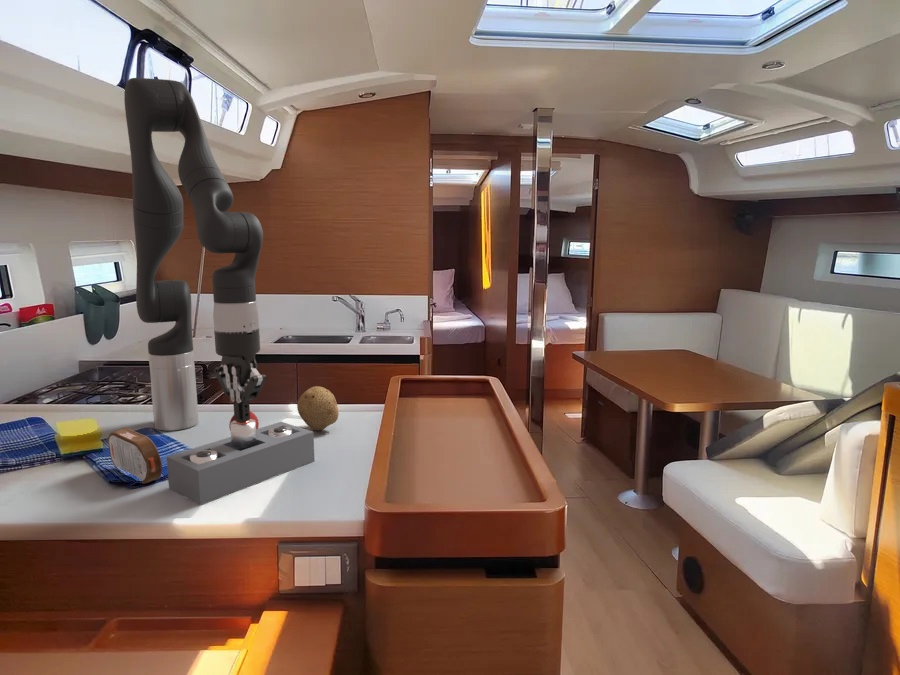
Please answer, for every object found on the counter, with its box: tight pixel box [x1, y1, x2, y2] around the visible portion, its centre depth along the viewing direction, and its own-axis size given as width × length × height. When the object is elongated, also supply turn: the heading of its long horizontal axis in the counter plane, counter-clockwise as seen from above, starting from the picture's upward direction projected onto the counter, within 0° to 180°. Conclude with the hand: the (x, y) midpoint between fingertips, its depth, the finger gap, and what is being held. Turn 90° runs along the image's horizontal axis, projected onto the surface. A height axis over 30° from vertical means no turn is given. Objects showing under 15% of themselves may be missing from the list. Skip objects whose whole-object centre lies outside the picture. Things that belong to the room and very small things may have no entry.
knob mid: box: [229, 419, 257, 448], centre depth 110 cm, size 4×4×4 cm
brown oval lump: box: [296, 385, 340, 431], centre depth 135 cm, size 9×9×10 cm
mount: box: [165, 421, 315, 506], centre depth 111 cm, size 10×24×6 cm, turn 143°
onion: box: [228, 410, 260, 432], centre depth 127 cm, size 6×6×8 cm
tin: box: [107, 427, 163, 485], centre depth 109 cm, size 15×3×8 cm, turn 53°
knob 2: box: [268, 427, 292, 439], centre depth 117 cm, size 4×4×4 cm
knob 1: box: [190, 450, 218, 465], centre depth 104 cm, size 4×4×4 cm
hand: (242, 420), depth 109 cm, fingers closed
